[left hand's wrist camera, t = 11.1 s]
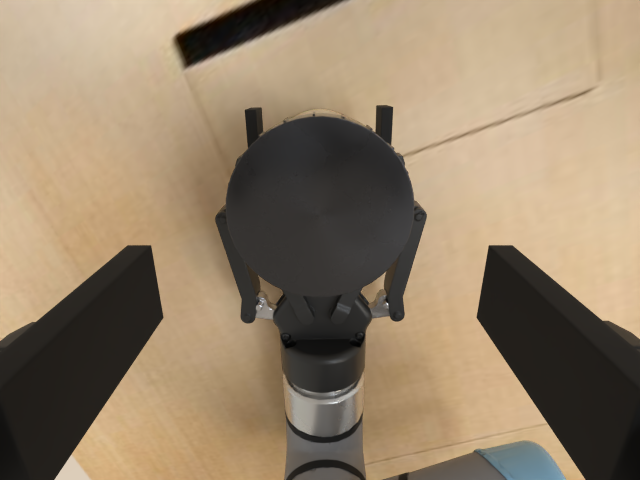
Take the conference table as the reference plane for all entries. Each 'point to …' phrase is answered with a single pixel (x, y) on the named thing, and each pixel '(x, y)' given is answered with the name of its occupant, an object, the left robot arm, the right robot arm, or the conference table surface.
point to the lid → (320, 205)
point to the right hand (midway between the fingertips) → (318, 107)
